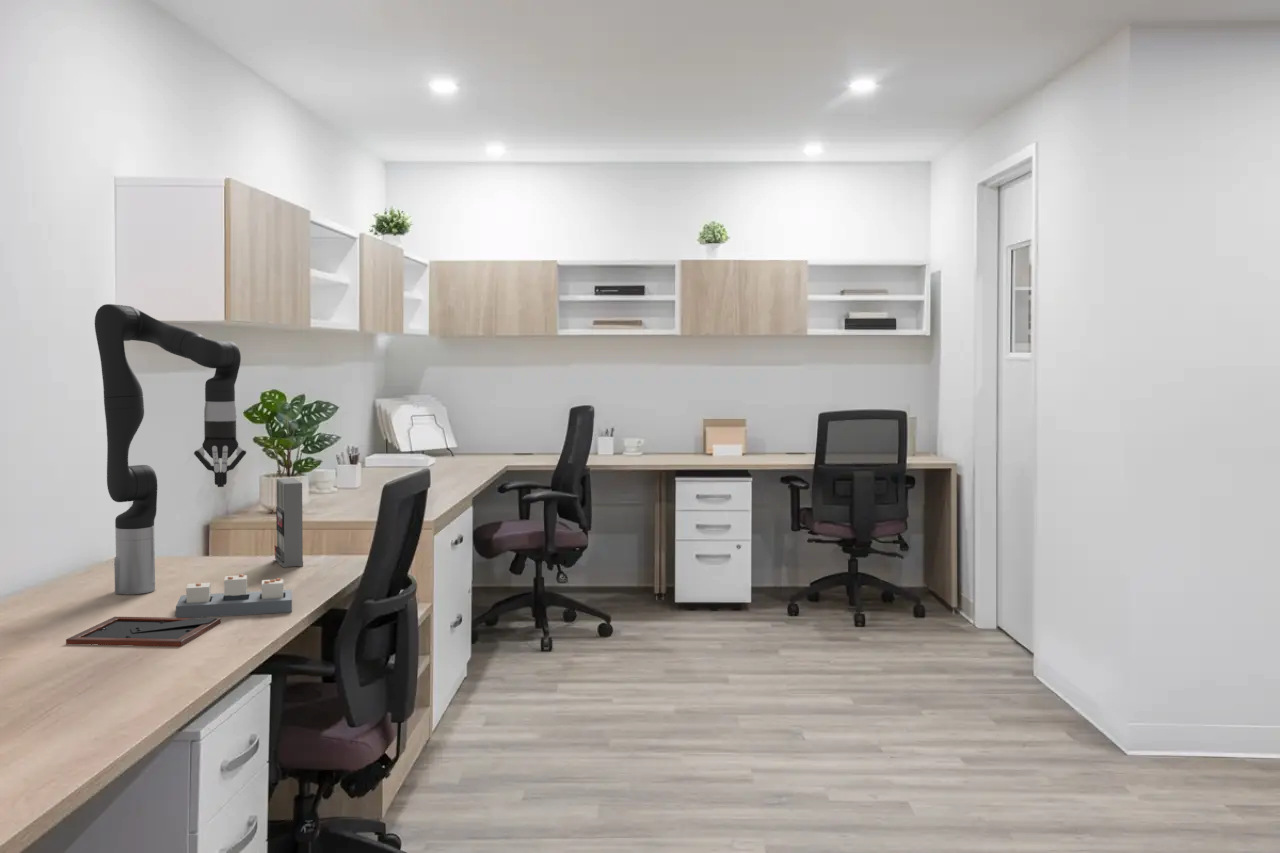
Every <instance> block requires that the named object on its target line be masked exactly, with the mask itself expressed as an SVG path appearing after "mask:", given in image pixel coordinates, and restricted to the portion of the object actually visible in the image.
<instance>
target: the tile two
mask: <svg viewBox="0 0 1280 853" xmlns="http://www.w3.org/2000/svg"><path fill="white" fill-rule="evenodd" d="M223 582H224V583H223V584H224V585H223V588H224V589H223V591H224V592H223V593H224V596H227V595H231V596H240V595H246V594H247V592H248V574H243V573H241V574H240V573H239V574H236V575H225V576H224V580H223Z"/></svg>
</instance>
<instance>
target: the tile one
mask: <svg viewBox="0 0 1280 853" xmlns="http://www.w3.org/2000/svg"><path fill="white" fill-rule="evenodd" d="M185 590H186V593H185V595H186V603H197V602H209V601H210V594H211V582H200V583H199V582H198V583H197V582H196V583H187V585H186V587H185Z"/></svg>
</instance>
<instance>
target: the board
mask: <svg viewBox="0 0 1280 853" xmlns="http://www.w3.org/2000/svg"><path fill="white" fill-rule="evenodd" d="M292 594H293V589H283V598H269V599H262V590H257V591H256V590H255V591H247V594H246V595H240V596H231V595H227V596H224V592H222V593H221V592H218V593H217V592H216V593H210V601H209V602H197V603H186V594H183V595H182V594H181V595H180V597H179V598H178V601H177V603H176V606H175V618H218V617H228V616H232V617H234V616H246V615H247V616H248V615H263V614H264V615H265V614H267V615H268V614H283V613H292V612H293V600H292V599H293V598H292V597H293V595H292Z"/></svg>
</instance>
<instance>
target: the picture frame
mask: <svg viewBox="0 0 1280 853" xmlns="http://www.w3.org/2000/svg"><path fill="white" fill-rule="evenodd" d="M221 620H222V619H221V618H219V617H200V618H176V617H167V616H166V617H159V616H158V617H157V616H155V617H151V616H113V617H111V618H109V619H107V620H105V621H103V622H100V623H99V624H96V625H94V626H92V627H89V628H87V629H85V630H83V631H81V632H78V633H76V634H74V635H73V636H70V637H67V638H66V639H65V645H67V644H91V645H90V646H93V645H92V644H98V645H97V646H118V645H133V646H132V647H138V646H139V647H172V648H173V647H175V648H176V647H177V648H179V647H183V646H185V645H186V644H189V643H190V642H191V641H194V640H195V639H197V638H199V637H200V636H202V635H204V634H206V633H207V632H209V631H210V630H212V629H214V628H215V627H218V626H219V625H221Z"/></svg>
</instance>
